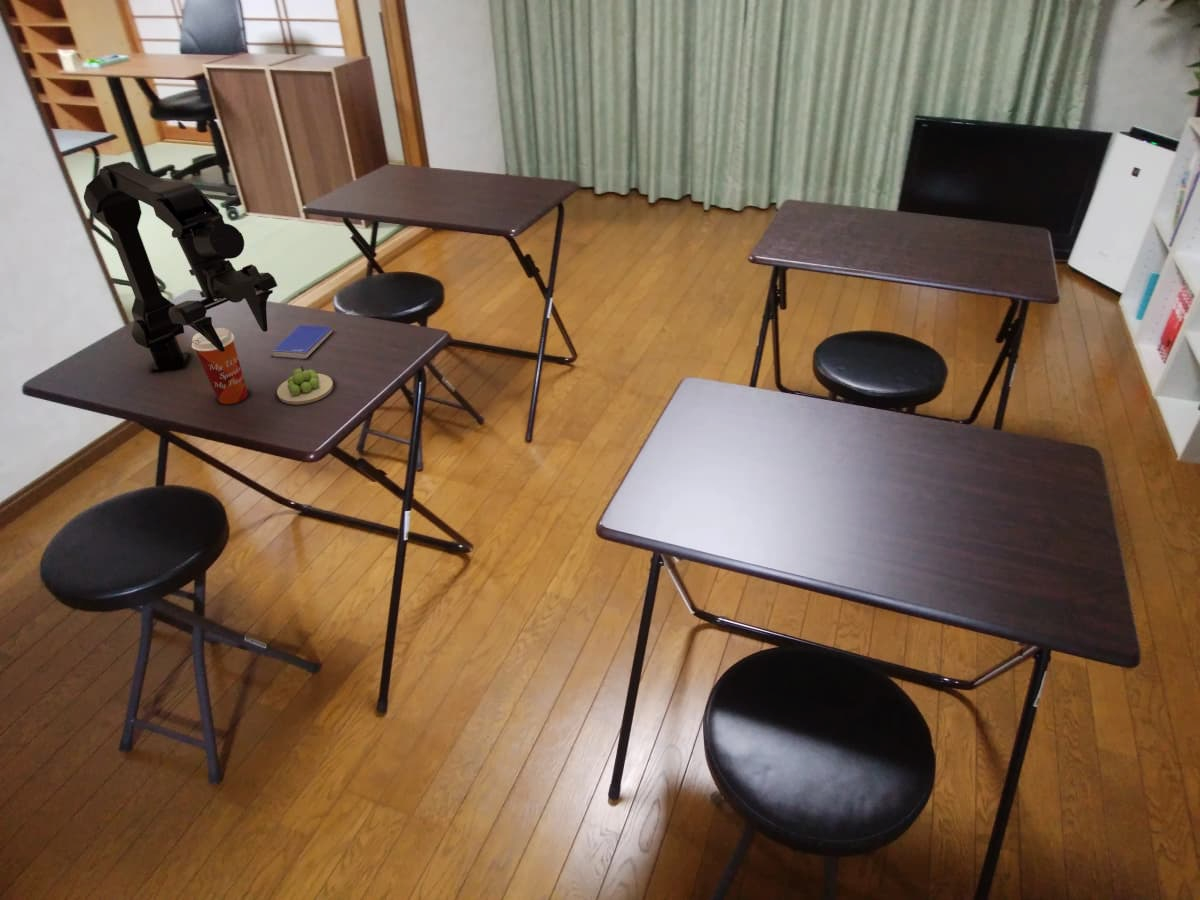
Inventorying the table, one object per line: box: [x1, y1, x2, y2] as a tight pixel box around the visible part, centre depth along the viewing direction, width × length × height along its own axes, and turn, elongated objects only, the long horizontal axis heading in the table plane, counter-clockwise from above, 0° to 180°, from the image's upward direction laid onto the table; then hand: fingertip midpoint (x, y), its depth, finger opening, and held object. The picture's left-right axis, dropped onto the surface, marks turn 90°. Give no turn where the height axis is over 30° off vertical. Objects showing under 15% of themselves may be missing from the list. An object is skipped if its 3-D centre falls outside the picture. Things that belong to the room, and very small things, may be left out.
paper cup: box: [191, 327, 248, 405], centre depth 151 cm, size 8×8×14 cm
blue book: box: [271, 324, 333, 360], centre depth 172 cm, size 2×8×12 cm
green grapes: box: [287, 365, 319, 395], centre depth 155 cm, size 8×6×5 cm
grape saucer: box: [276, 372, 334, 406], centre depth 156 cm, size 11×11×1 cm
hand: (244, 341), depth 142 cm, fingers open, 9 cm apart
